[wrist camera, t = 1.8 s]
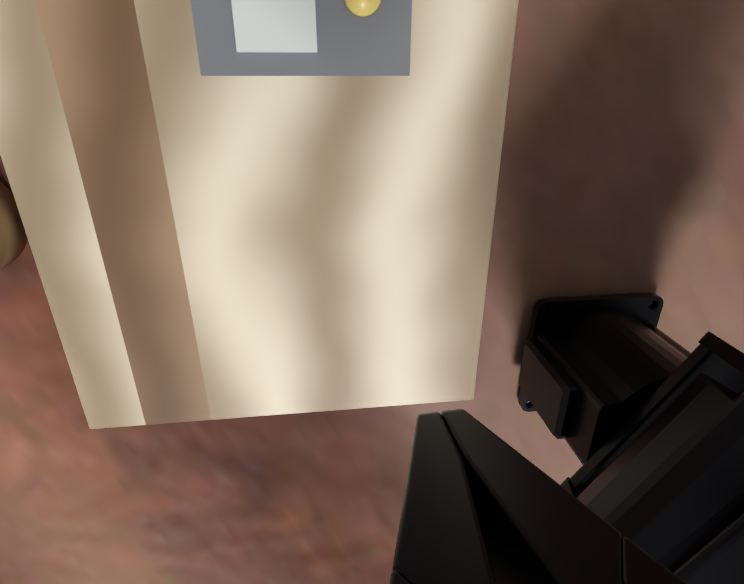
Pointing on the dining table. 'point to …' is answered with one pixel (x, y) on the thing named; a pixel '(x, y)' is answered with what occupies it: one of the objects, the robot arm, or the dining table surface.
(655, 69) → the dining table surface
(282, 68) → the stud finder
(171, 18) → the plywood panel
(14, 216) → the marker peg
